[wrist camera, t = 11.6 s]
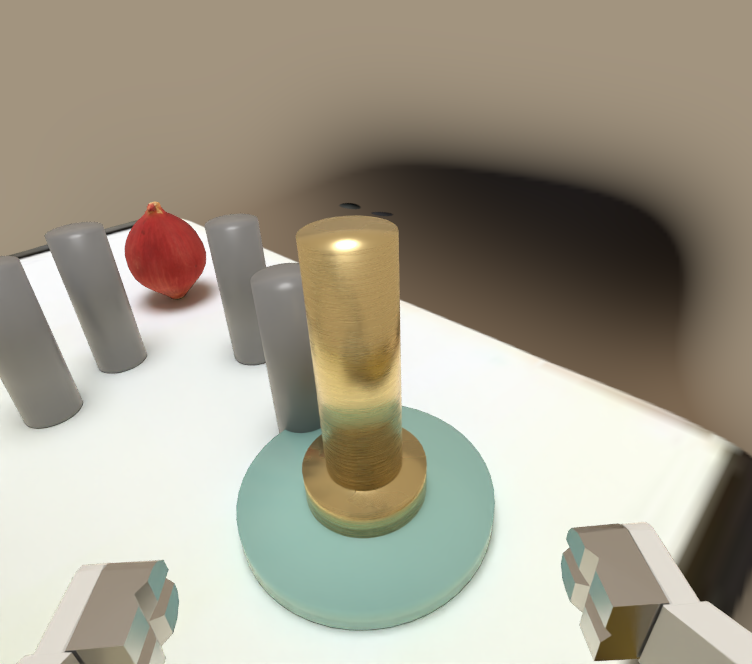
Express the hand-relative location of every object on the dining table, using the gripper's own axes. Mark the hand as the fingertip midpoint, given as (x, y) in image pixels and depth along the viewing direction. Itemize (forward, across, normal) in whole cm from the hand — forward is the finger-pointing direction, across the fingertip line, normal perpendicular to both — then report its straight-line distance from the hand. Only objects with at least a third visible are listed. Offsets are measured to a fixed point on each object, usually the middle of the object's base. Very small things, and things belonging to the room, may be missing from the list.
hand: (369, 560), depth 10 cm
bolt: (+9, 0, +8) cm, 12 cm away
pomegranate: (+31, +15, +9) cm, 36 cm away
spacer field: (+18, +11, +9) cm, 23 cm away
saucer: (+9, 0, +9) cm, 12 cm away
